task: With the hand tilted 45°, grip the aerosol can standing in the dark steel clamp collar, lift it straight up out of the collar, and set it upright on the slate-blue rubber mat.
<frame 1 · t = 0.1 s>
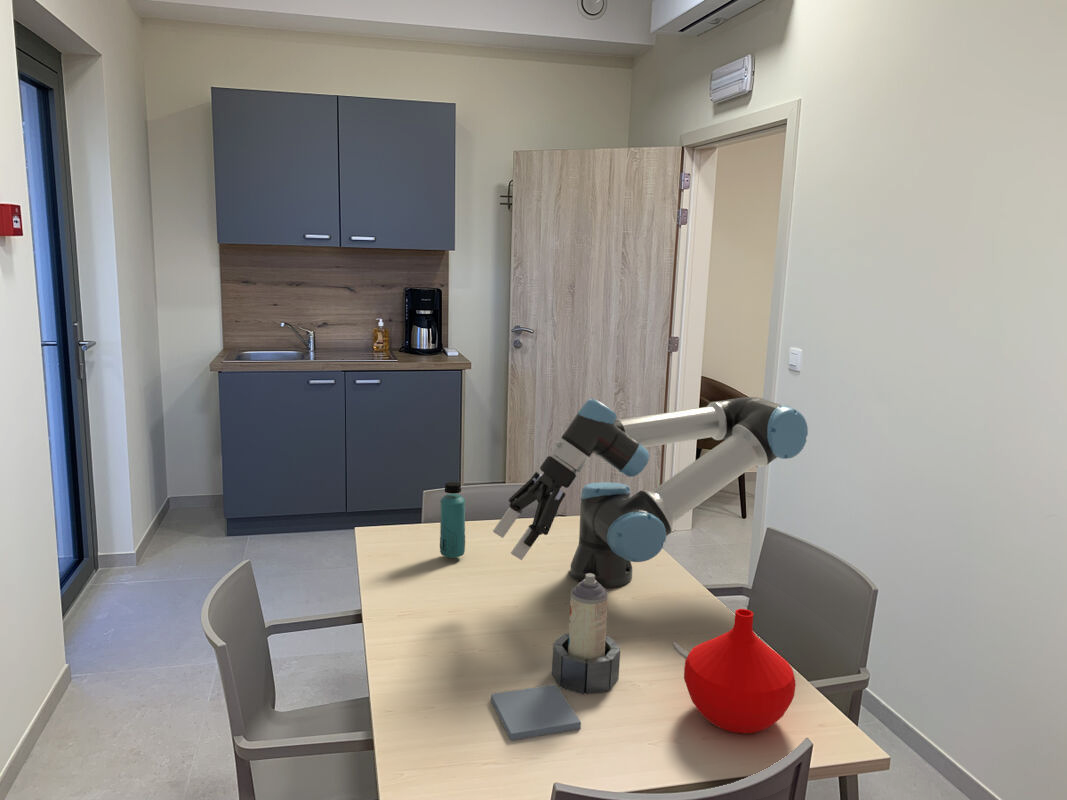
hand: (506, 545, 169), 15 cm above the table, tool tilted 35°, fingers open, 13 cm apart
rubber mat: (534, 714, 134), on the table
clamp collar: (585, 676, 147), on the table
aerosol can: (585, 677, 147), resting in clamp collar
beverage bottle: (452, 559, 201), on the table
pliers: (710, 663, 154), on the table
vase: (735, 717, 135), on the table
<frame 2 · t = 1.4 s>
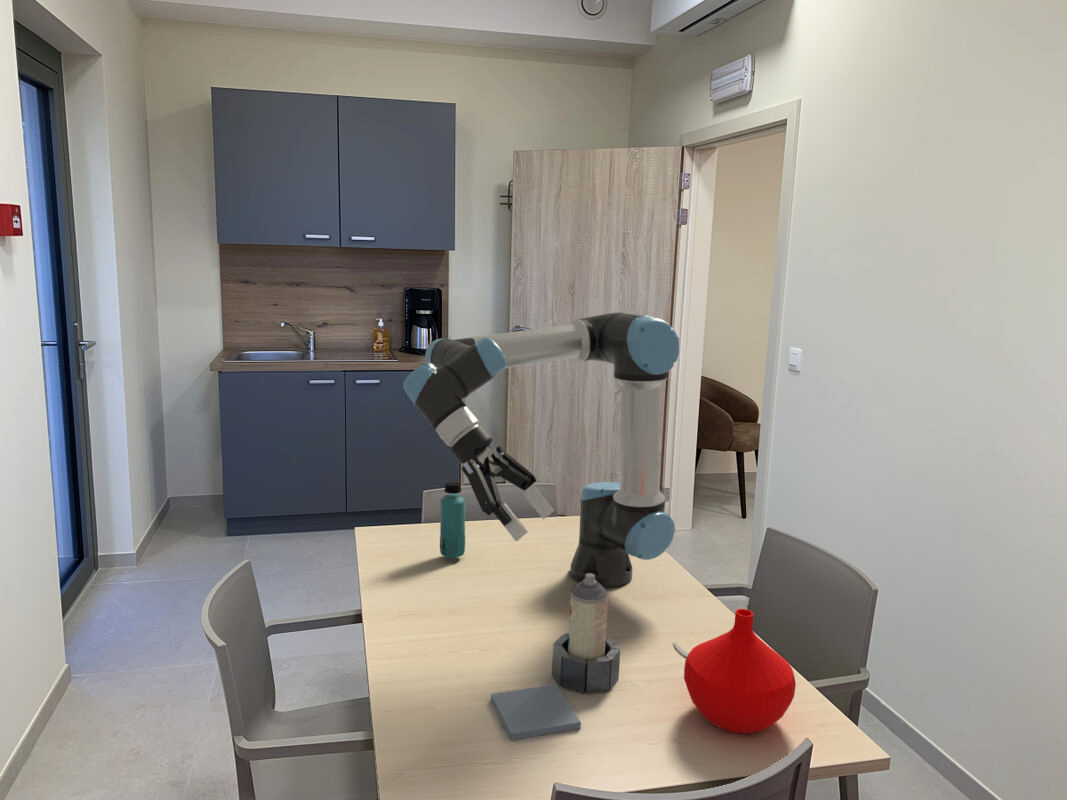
hand: (536, 525, 145), 28 cm above the table, tool tilted 45°, fingers open, 13 cm apart
nothing on the table moved.
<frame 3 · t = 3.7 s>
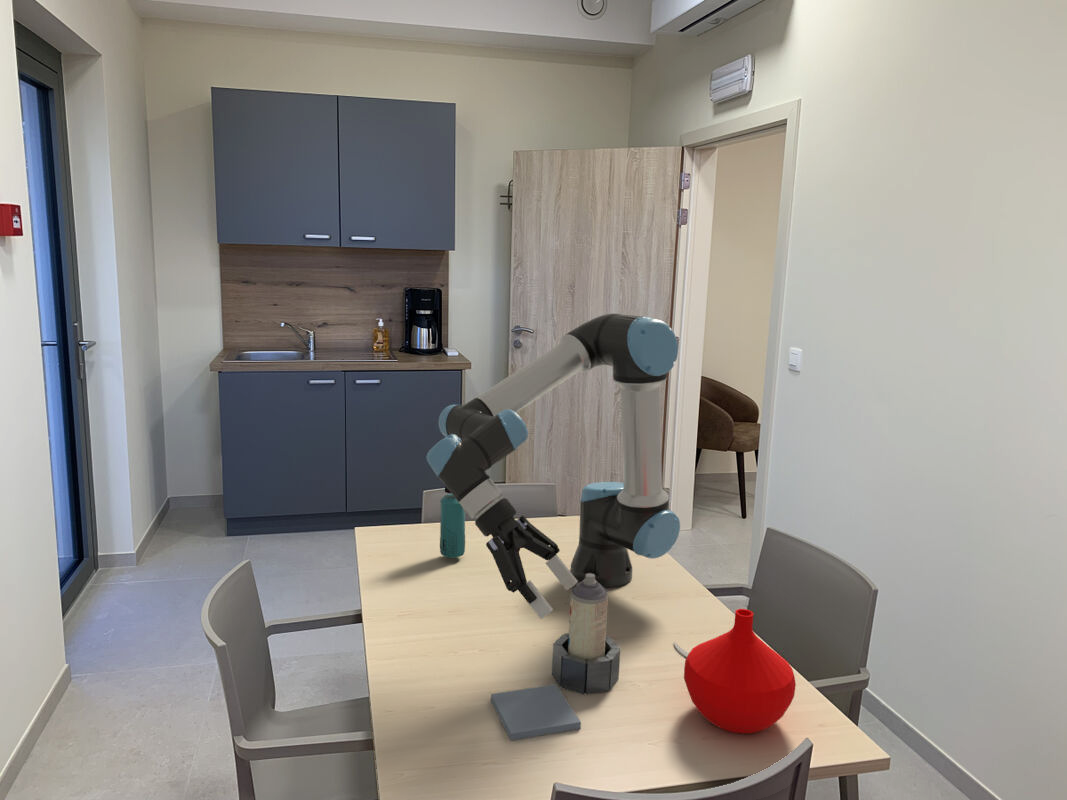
hand: (560, 599, 145), 15 cm above the table, tool tilted 45°, fingers open, 13 cm apart
nothing on the table moved.
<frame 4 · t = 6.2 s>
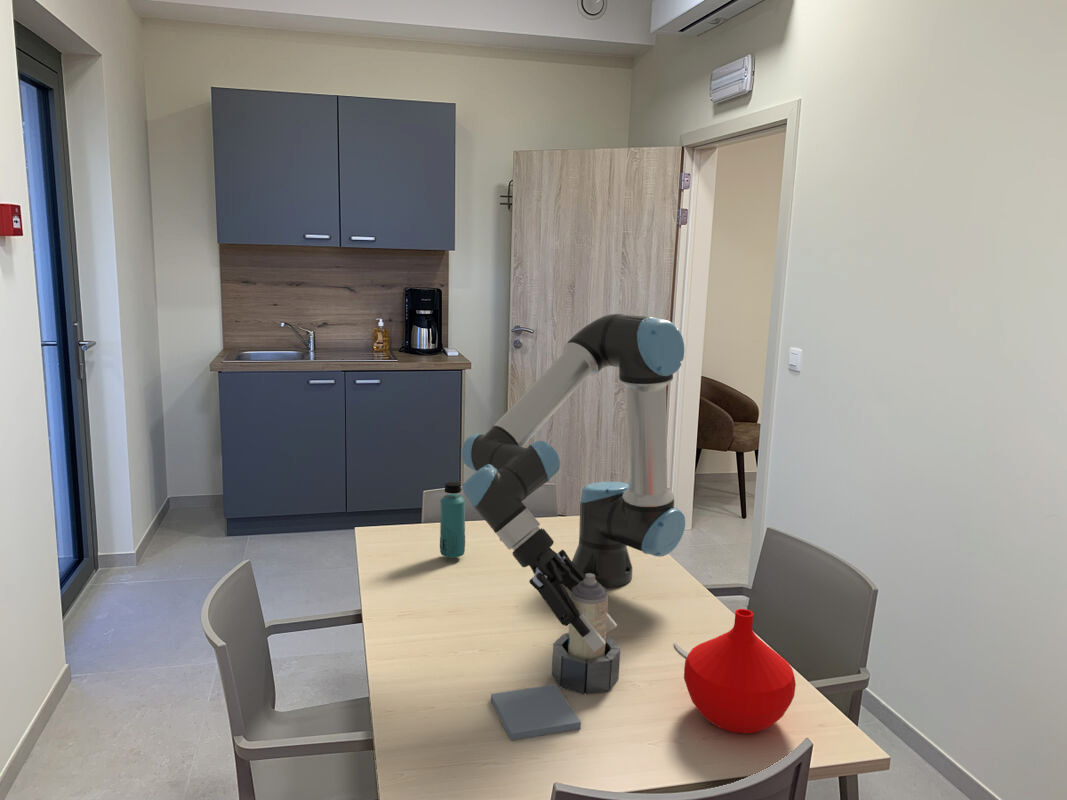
hand: (605, 638, 144), 8 cm above the table, tool tilted 45°, fingers closed on aerosol can, 7 cm apart
aerosol can: (585, 677, 147), resting in clamp collar, touching gripper
everything else where it was.
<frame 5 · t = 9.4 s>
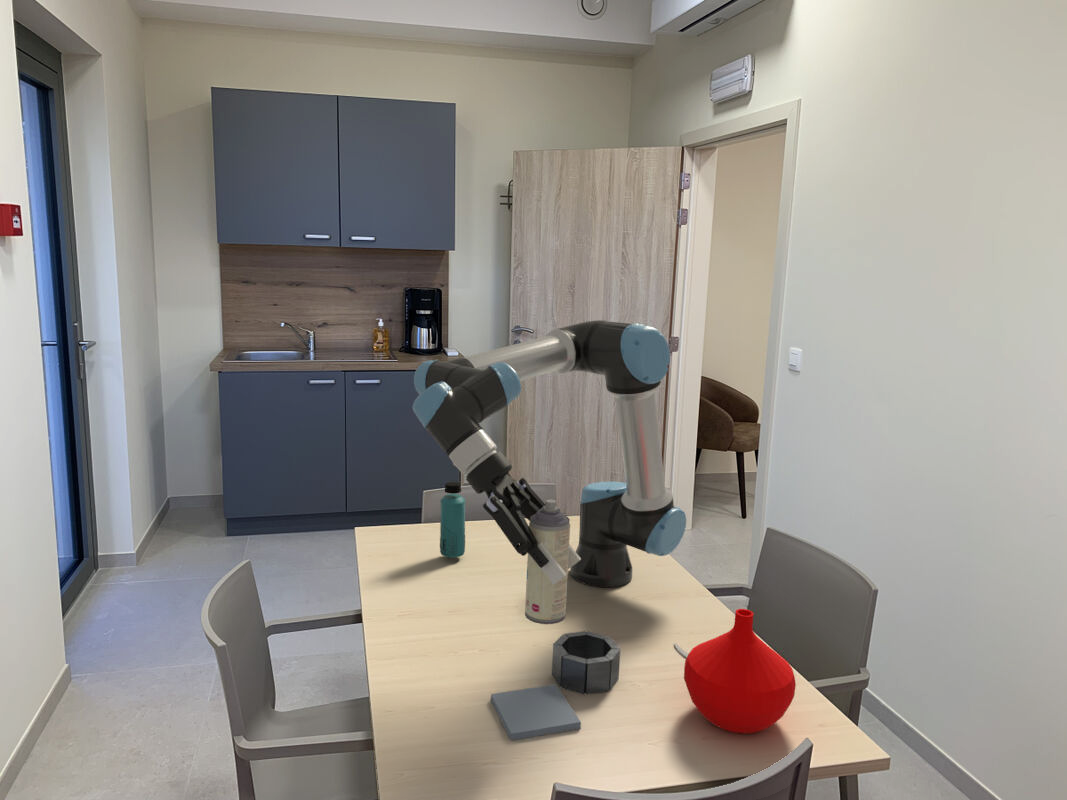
hand: (567, 571, 130), 25 cm above the table, tool tilted 45°, fingers closed on aerosol can, 7 cm apart
aerosol can: (545, 616, 133), point 17 cm above the table, touching gripper
everything else where it was.
when the fingers open (11 cm above the table, at t = 12.6 s): aerosol can drops 1 cm, resting on rubber mat.
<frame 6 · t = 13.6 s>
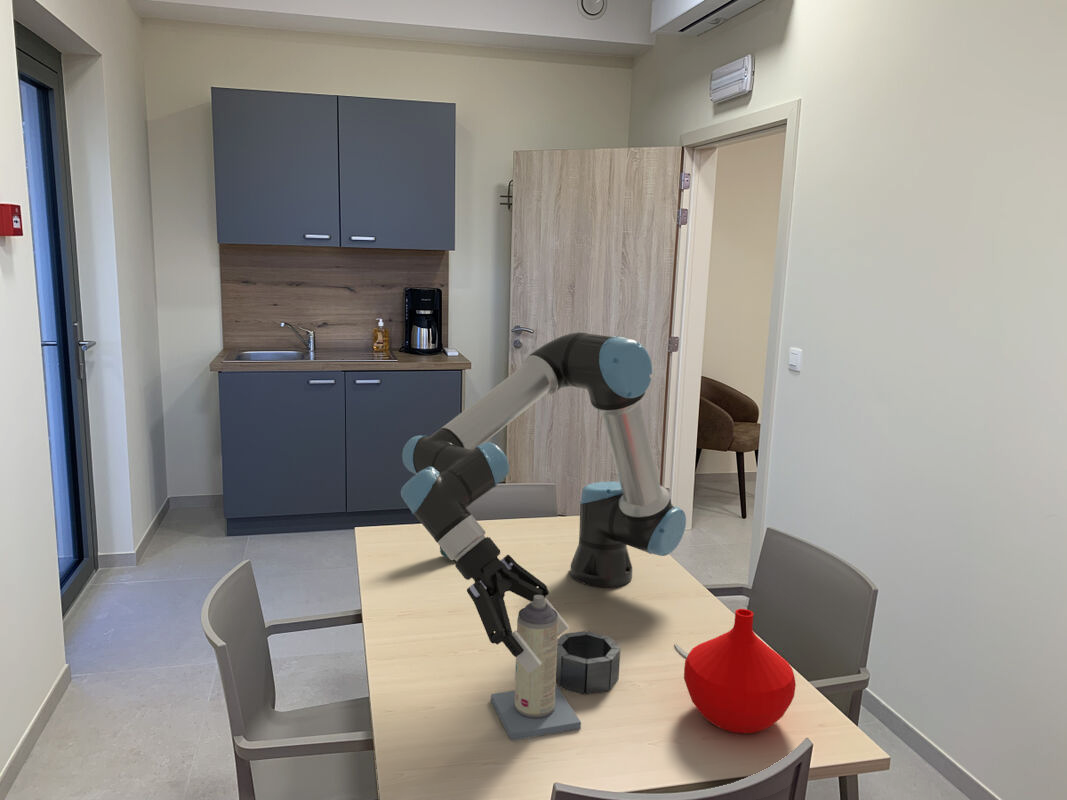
hand: (550, 649, 131), 12 cm above the table, tool tilted 45°, fingers open, 13 cm apart
aerosol can: (534, 708, 134), point 1 cm above the table, touching rubber mat
everything else where it was.
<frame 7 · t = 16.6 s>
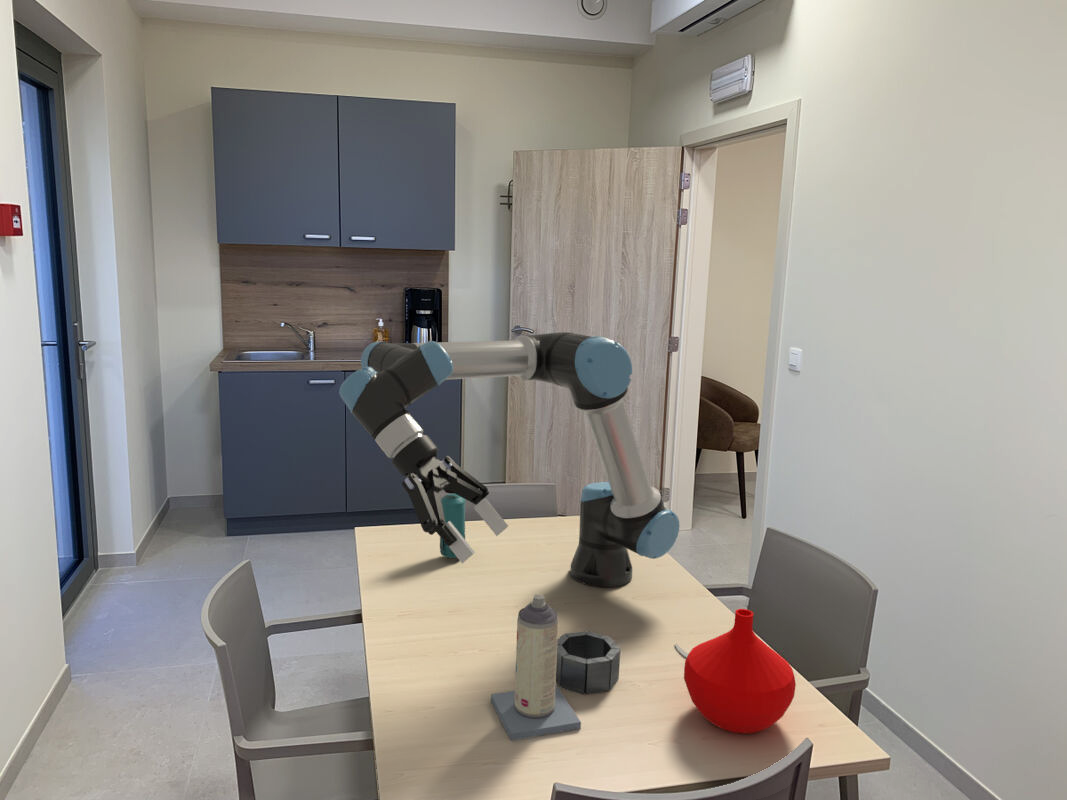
hand: (486, 544, 132), 29 cm above the table, tool tilted 45°, fingers open, 13 cm apart
nothing on the table moved.
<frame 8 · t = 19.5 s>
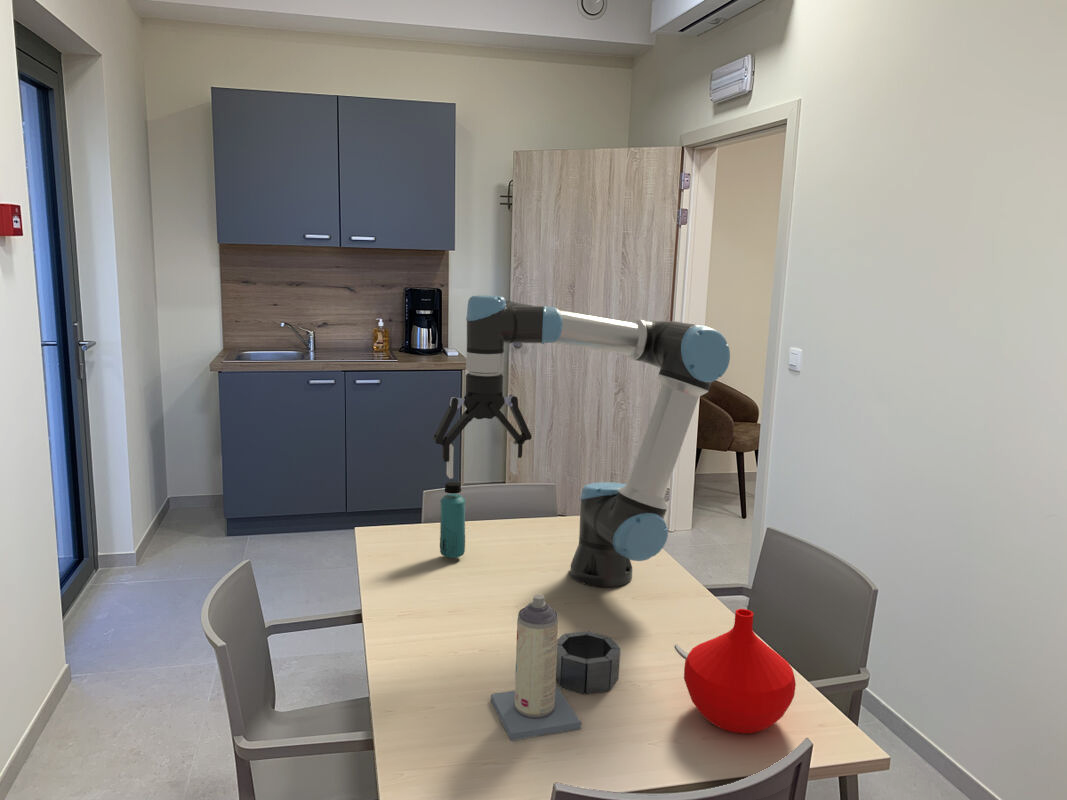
hand: (482, 474, 163), 32 cm above the table, tool pointing down, fingers open, 13 cm apart
nothing on the table moved.
at the end: aerosol can inside the target area on the rubber mat (0.1 cm from its centre), point 1.0 cm above the rubber mat's base; aerosol can tilted 0°; aerosol can touching rubber mat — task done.
